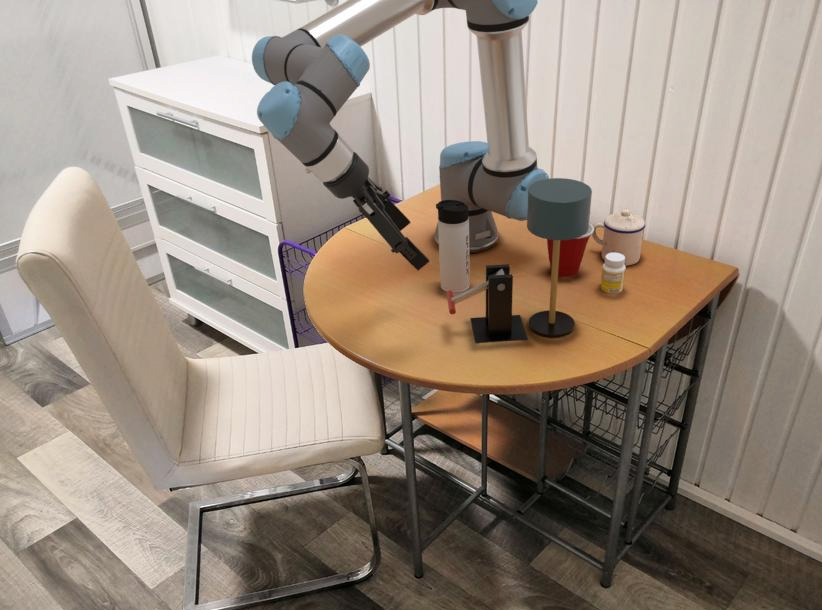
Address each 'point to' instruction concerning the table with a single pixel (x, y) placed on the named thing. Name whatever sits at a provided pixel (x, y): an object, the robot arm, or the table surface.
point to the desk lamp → (557, 238)
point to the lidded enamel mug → (622, 235)
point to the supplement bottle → (613, 273)
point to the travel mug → (453, 245)
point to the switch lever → (468, 293)
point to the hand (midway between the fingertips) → (413, 245)
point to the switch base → (498, 310)
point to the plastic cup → (570, 253)
